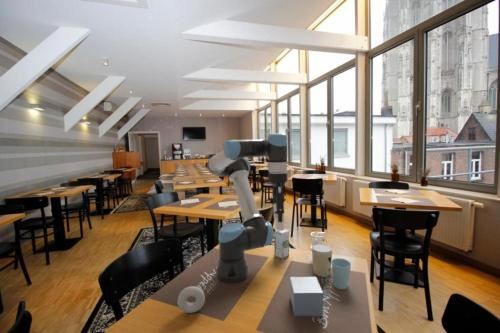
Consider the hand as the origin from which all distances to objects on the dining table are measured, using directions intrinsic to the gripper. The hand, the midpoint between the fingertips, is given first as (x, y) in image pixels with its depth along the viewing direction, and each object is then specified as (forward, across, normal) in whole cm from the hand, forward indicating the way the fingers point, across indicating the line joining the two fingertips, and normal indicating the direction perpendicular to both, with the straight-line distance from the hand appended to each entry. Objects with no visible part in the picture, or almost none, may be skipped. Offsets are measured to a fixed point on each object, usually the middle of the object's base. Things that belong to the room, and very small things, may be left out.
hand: (278, 223), depth 100 cm
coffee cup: (+29, +13, -22) cm, 38 cm away
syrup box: (+29, +30, -4) cm, 42 cm away
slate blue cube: (+29, -11, -9) cm, 32 cm away
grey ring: (+29, -14, +34) cm, 46 cm away
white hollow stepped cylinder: (+29, +25, -23) cm, 45 cm away
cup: (+29, +2, -27) cm, 39 cm away
